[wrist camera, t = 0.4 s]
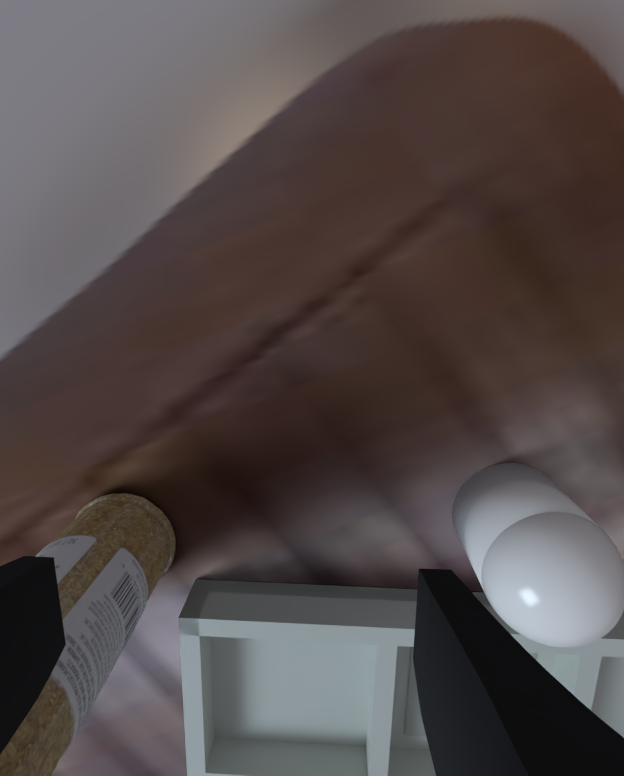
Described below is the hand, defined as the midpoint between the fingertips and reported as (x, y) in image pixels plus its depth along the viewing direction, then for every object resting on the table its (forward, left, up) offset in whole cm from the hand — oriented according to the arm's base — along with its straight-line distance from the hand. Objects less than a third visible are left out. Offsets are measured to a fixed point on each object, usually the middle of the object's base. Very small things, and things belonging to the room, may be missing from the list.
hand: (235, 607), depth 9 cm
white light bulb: (-3, -9, -10) cm, 14 cm away
